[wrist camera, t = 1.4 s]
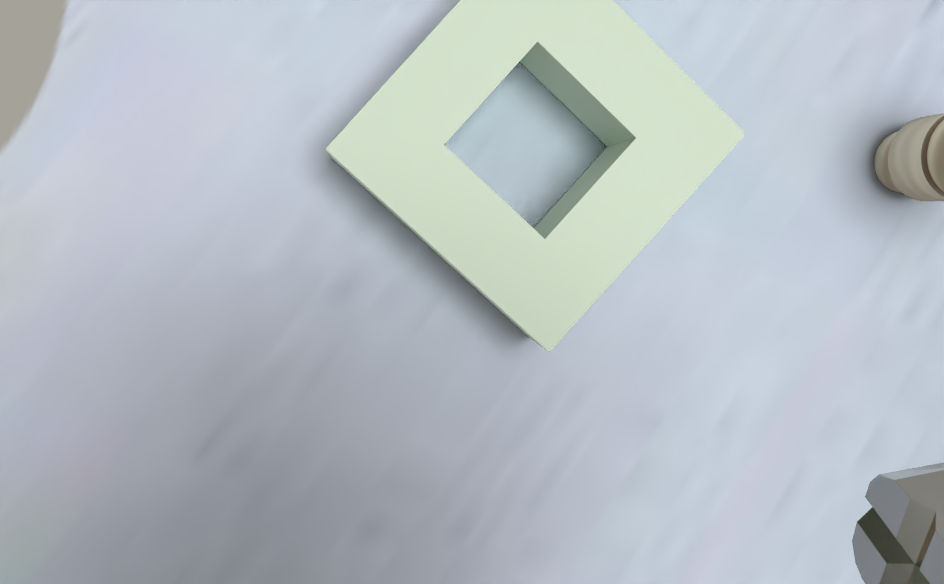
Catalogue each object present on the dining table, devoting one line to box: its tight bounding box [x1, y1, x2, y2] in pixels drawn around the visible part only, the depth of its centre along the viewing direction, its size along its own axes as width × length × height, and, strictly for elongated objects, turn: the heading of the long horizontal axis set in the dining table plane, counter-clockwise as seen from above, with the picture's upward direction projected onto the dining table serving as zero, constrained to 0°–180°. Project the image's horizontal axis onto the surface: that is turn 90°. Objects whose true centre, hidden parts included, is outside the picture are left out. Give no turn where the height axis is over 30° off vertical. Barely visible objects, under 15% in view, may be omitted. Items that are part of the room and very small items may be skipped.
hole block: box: [325, 0, 746, 352], centre depth 42 cm, size 14×14×5 cm
